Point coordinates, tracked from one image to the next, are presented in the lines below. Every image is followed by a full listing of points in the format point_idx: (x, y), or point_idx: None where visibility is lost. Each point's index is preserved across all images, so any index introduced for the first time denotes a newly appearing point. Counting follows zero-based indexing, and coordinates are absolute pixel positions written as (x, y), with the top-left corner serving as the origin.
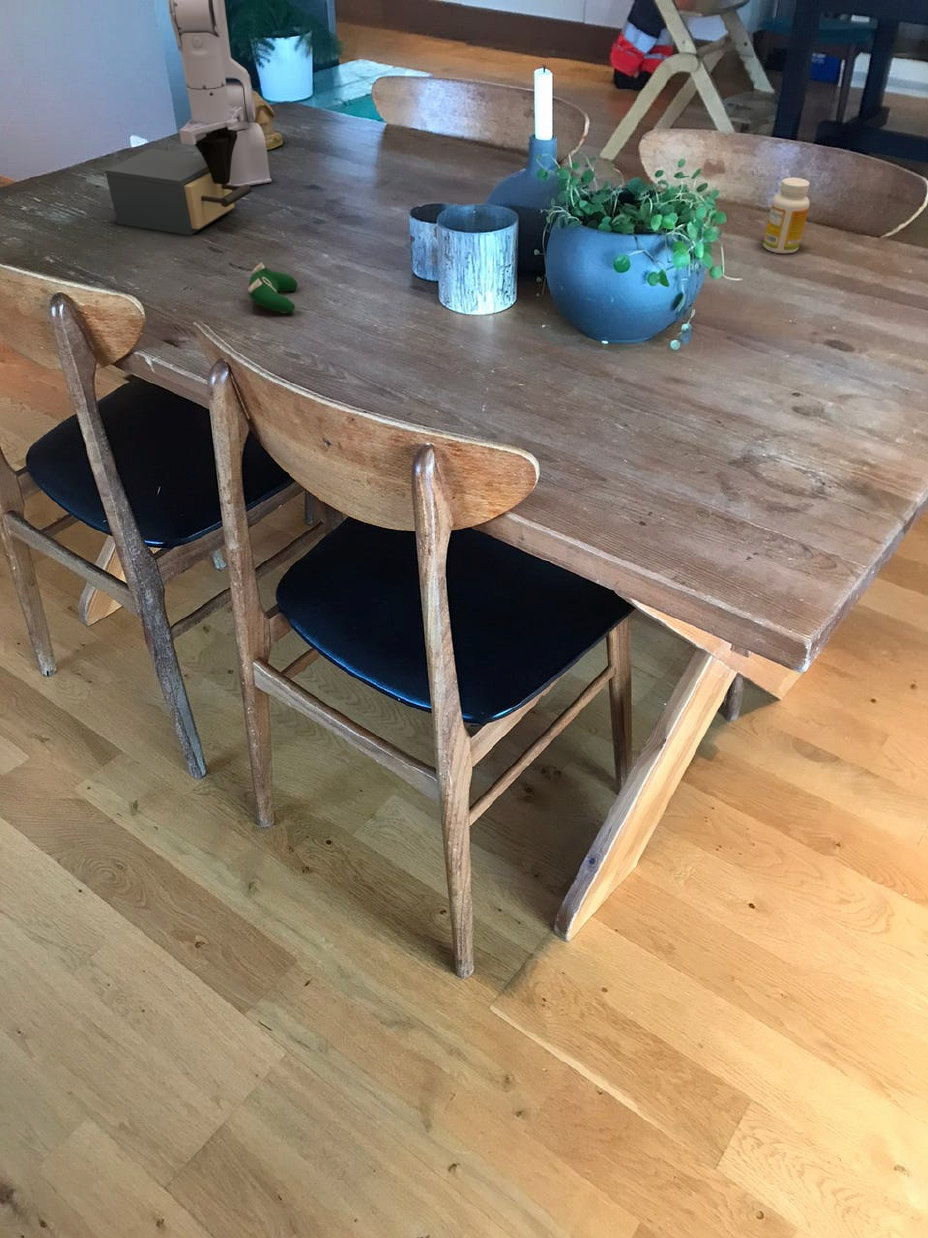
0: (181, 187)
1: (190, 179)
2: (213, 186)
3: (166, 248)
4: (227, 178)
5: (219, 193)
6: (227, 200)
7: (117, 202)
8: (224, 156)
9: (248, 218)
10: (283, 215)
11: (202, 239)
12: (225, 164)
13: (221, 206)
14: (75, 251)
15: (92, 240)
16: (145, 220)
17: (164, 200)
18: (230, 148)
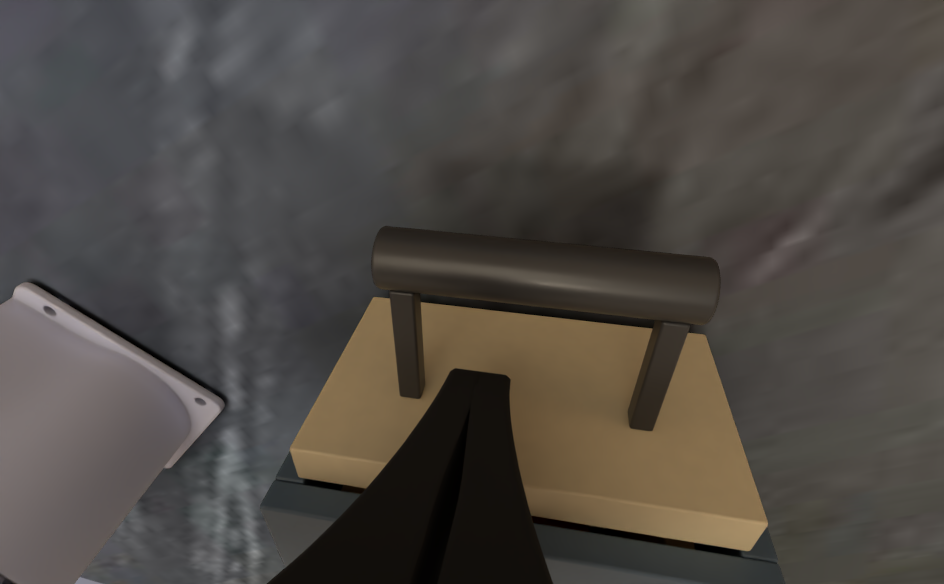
0: (774, 554)
1: (665, 553)
2: None
3: (886, 376)
4: (484, 391)
5: None
6: (714, 275)
7: None
8: (497, 553)
9: (418, 199)
10: (288, 31)
11: (754, 285)
12: (488, 481)
13: (475, 330)
14: (899, 577)
15: (788, 564)
16: None
17: None
18: (370, 581)
